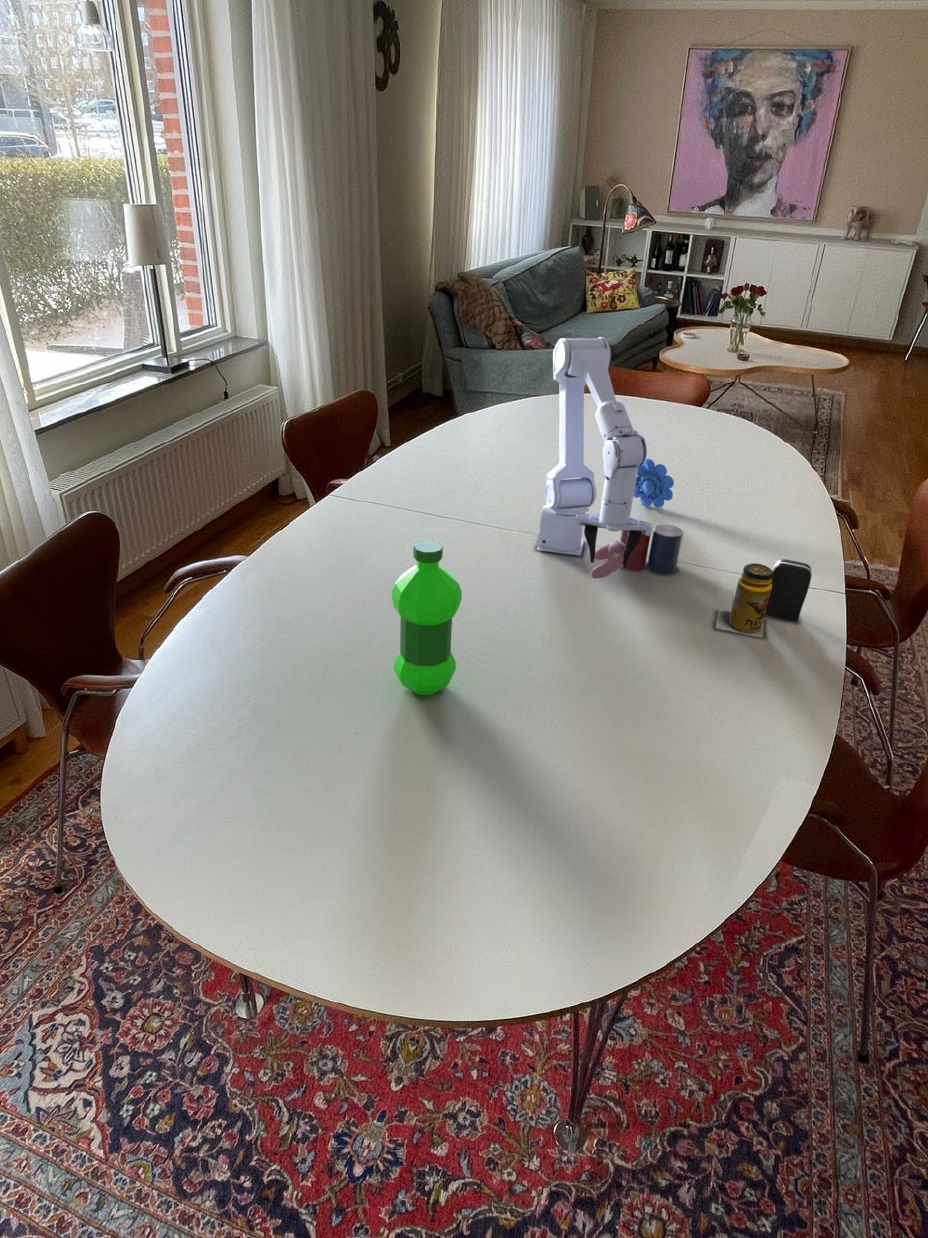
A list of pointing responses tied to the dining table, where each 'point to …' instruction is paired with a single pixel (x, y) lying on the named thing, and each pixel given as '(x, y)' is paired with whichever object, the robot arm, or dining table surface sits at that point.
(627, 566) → the tin can burgundy
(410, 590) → the plastic bottle
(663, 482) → the blue flower
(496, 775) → the dining table surface
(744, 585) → the condiment
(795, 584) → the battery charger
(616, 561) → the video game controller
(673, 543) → the tin can navy
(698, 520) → the dining table surface
